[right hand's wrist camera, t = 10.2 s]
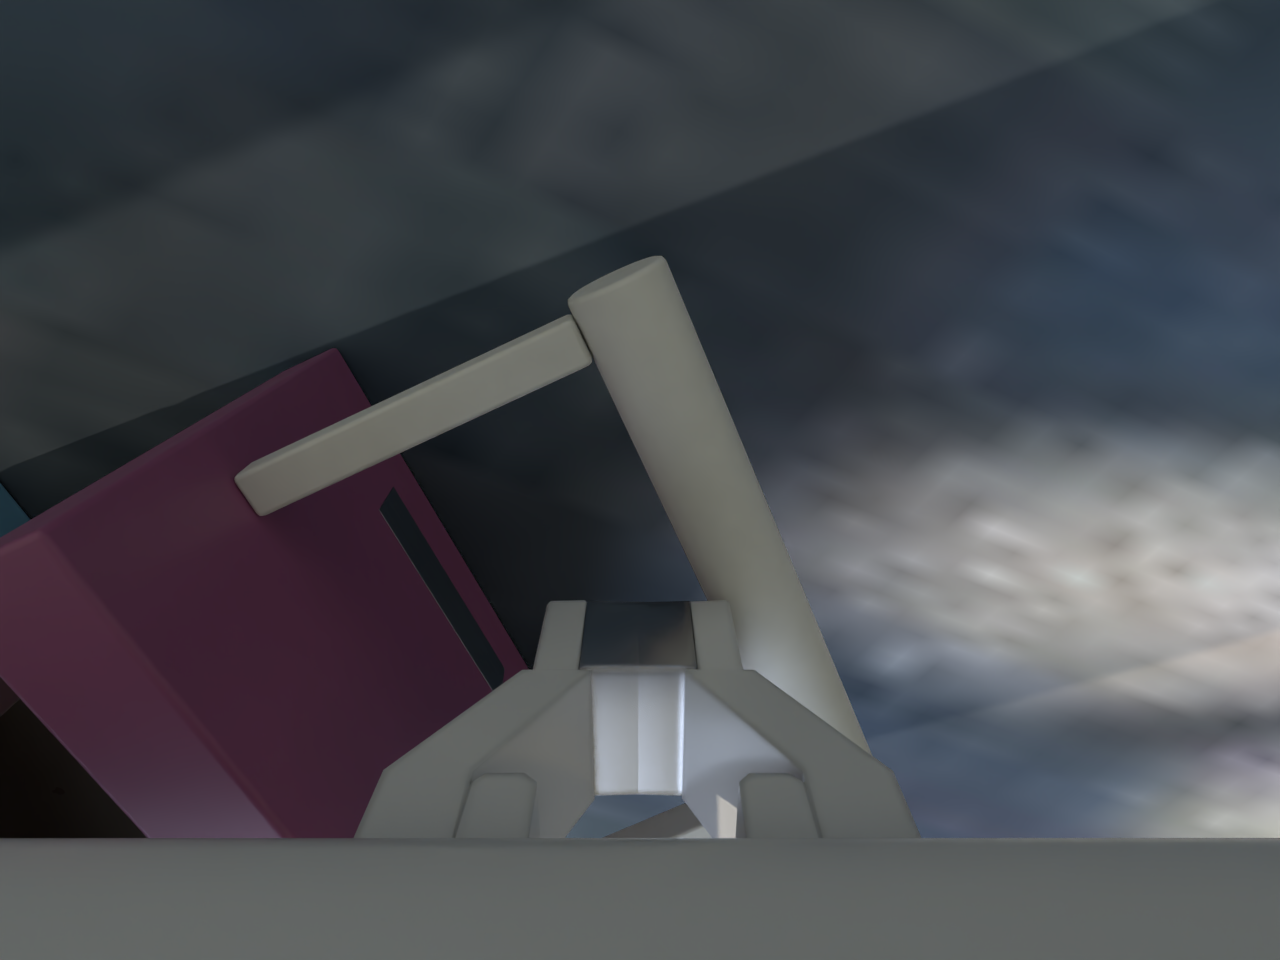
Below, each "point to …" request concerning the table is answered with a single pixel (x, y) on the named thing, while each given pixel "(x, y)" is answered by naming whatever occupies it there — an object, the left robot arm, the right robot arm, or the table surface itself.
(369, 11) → the table surface
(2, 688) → the drawer
